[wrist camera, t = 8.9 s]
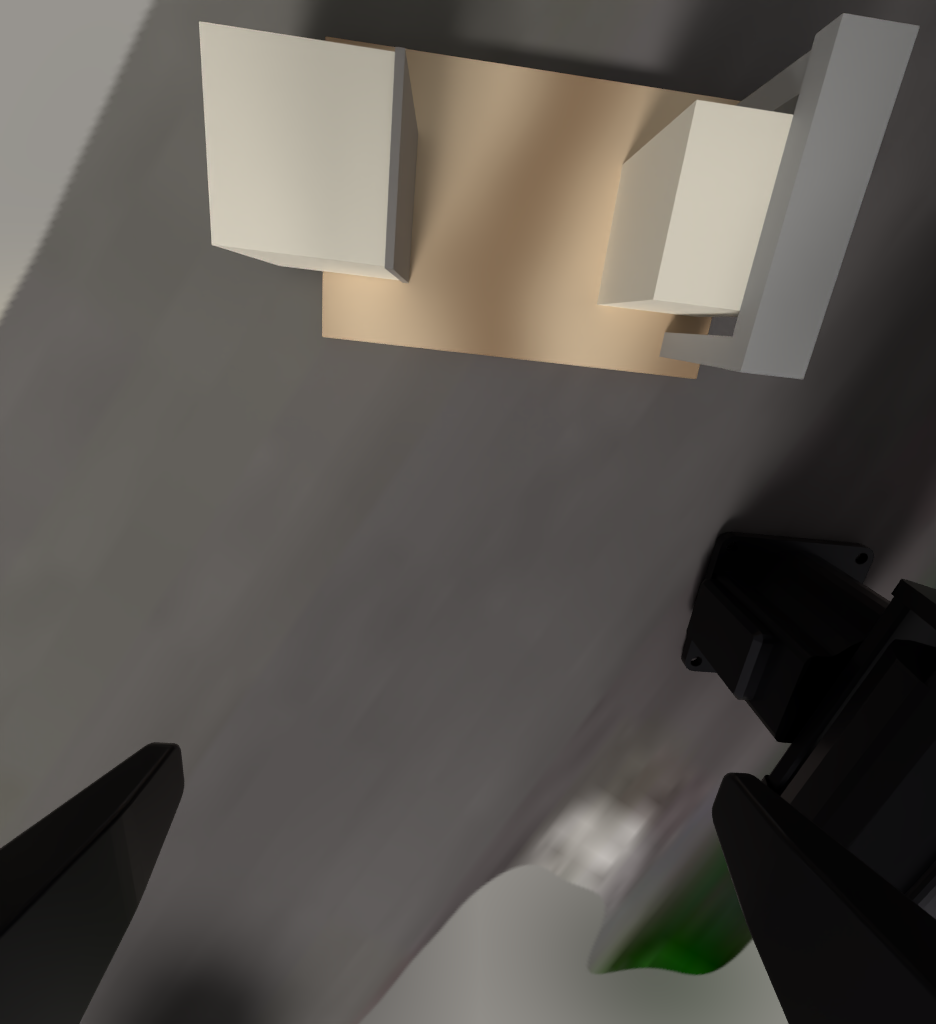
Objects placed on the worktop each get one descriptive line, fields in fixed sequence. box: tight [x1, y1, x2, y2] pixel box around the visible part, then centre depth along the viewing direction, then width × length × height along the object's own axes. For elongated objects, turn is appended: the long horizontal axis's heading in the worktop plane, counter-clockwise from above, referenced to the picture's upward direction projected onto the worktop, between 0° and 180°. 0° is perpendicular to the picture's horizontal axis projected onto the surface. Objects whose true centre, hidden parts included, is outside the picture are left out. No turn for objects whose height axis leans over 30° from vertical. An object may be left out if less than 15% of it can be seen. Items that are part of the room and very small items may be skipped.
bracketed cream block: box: [597, 13, 920, 379], centre depth 14 cm, size 4×7×6 cm, turn 174°
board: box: [322, 36, 741, 379], centre depth 16 cm, size 13×8×1 cm, turn 84°
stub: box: [199, 21, 418, 283], centre depth 13 cm, size 4×4×5 cm
